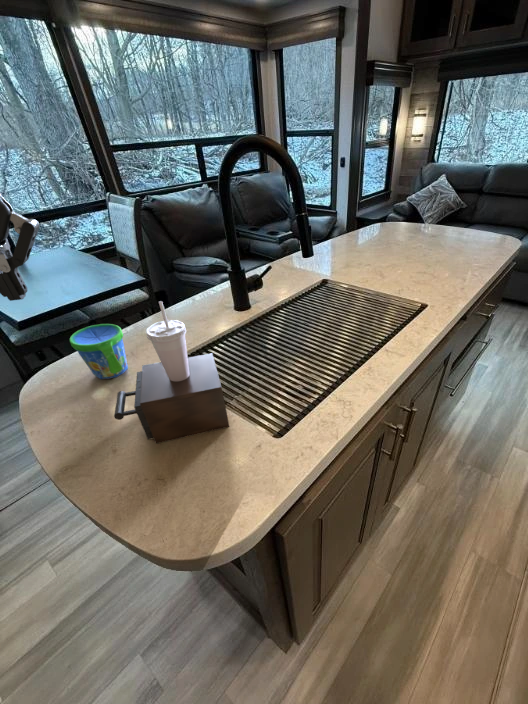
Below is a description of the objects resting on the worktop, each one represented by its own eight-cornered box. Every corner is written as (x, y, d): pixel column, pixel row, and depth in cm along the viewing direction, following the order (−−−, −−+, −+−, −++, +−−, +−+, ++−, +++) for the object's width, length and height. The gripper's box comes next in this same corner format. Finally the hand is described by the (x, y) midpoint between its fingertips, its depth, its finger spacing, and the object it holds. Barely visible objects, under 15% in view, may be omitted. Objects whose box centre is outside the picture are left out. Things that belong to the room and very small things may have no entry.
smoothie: (203, 369, 63) (187, 298, 54) (183, 388, 58) (162, 313, 50) (175, 364, 65) (154, 293, 56) (153, 382, 60) (127, 308, 51)
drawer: (122, 445, 60) (106, 412, 55) (127, 407, 68) (113, 376, 63) (216, 424, 64) (208, 391, 59) (209, 390, 72) (202, 360, 67)
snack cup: (143, 379, 78) (128, 340, 71) (94, 395, 73) (74, 355, 67) (127, 352, 88) (113, 316, 82) (83, 364, 83) (64, 327, 77)
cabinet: (156, 443, 61) (139, 403, 55) (156, 403, 71) (142, 365, 65) (229, 426, 64) (221, 387, 59) (220, 390, 74) (212, 353, 68)
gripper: (13, 140, 40) (75, 283, 51) (-125, 142, 37) (-27, 295, 48) (-10, 140, 35) (65, 301, 45) (-175, 142, 31) (-52, 315, 42)
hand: (17, 298), depth 46 cm, fingers closed
